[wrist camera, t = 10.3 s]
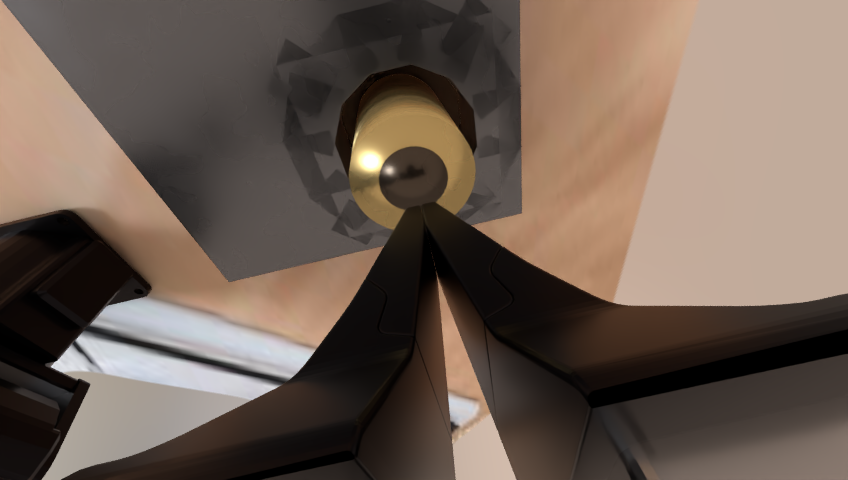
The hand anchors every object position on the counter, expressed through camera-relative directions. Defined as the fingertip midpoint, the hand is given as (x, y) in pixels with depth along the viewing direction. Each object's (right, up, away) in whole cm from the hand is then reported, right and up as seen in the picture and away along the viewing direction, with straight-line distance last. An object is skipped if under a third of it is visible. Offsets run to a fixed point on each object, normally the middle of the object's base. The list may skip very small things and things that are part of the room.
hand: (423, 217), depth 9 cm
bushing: (-1, +6, +8) cm, 9 cm away
